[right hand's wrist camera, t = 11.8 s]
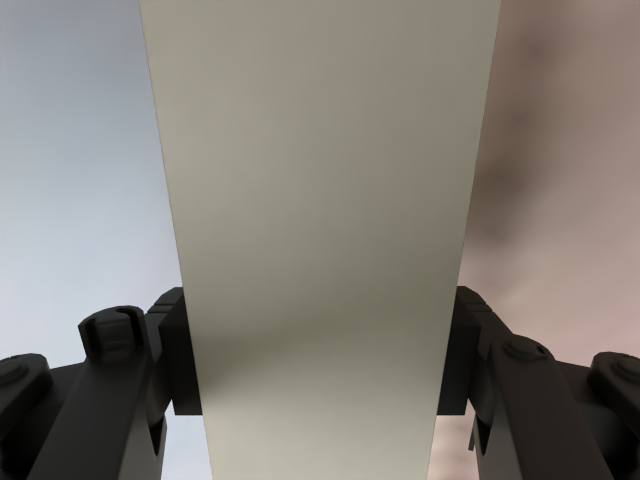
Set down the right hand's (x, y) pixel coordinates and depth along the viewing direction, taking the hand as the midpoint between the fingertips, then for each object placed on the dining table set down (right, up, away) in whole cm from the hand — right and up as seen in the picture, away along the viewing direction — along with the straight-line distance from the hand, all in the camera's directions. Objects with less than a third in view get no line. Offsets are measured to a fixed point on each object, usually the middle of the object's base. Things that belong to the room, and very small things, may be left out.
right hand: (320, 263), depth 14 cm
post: (0, +32, -11) cm, 34 cm away
